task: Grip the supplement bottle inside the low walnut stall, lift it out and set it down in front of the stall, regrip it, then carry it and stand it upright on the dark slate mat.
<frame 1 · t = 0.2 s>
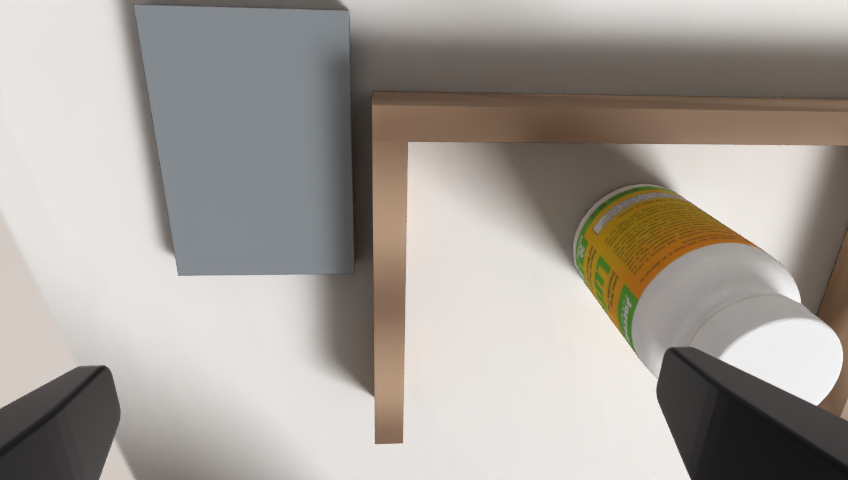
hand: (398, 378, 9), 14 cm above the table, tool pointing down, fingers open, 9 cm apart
slate mat: (261, 147, 22), on the table
supplement bottle: (628, 238, 25), on the table
walnut stall: (629, 248, 25), on the table
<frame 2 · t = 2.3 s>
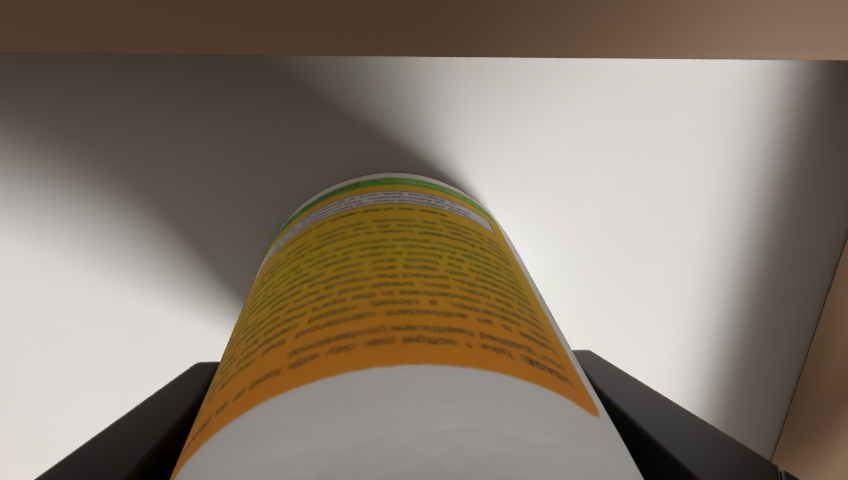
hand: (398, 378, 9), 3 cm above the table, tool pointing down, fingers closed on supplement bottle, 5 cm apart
supplement bottle: (391, 285, 12), on the table, touching gripper
walnut stall: (391, 306, 12), on the table
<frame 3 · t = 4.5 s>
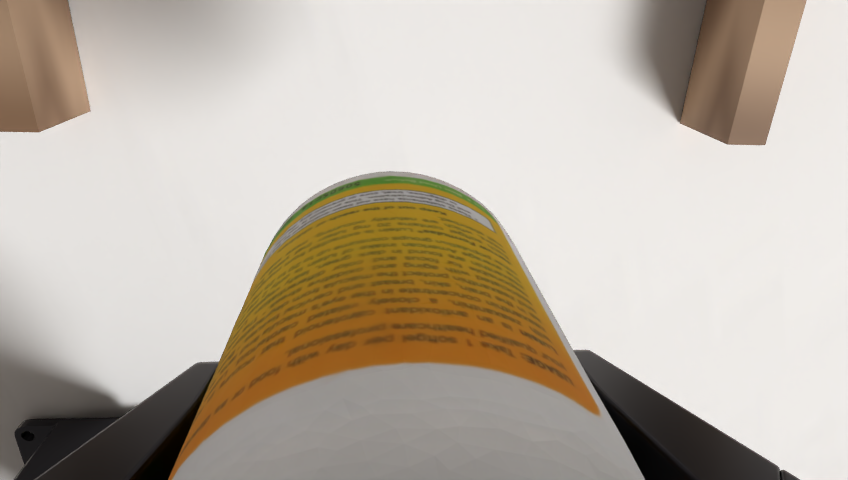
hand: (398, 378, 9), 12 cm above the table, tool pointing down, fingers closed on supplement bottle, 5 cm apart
supplement bottle: (391, 284, 12), point 8 cm above the table, touching gripper
when the fingers open (4 cm above the table, at t = 7.0 s): supplement bottle stays where it is, on the table.
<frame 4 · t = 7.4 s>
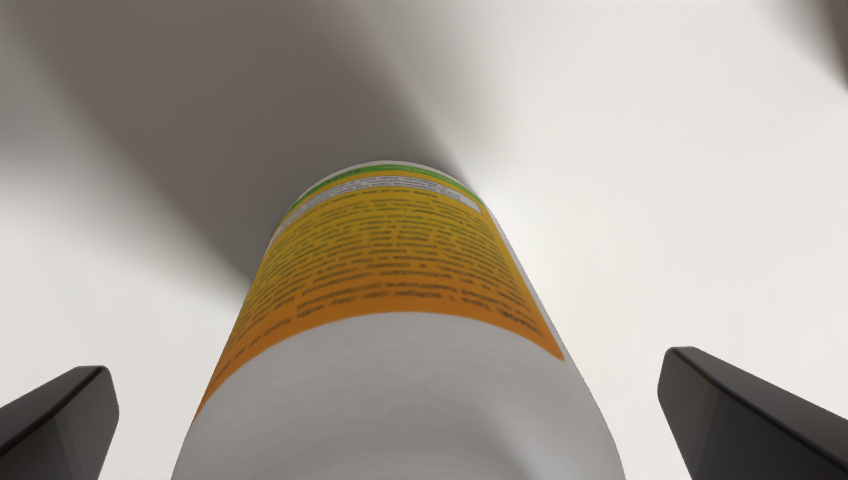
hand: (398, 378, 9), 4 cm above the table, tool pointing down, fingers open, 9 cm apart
supplement bottle: (389, 266, 13), on the table
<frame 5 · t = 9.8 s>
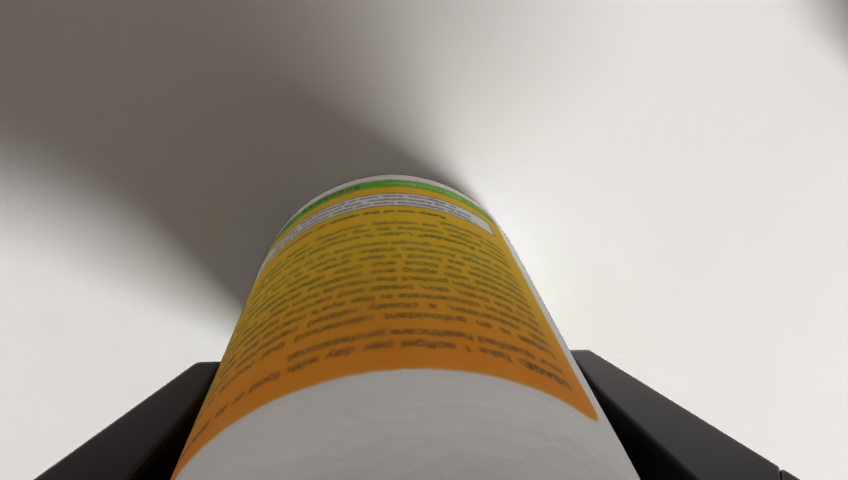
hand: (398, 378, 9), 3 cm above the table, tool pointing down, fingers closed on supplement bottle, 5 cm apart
supplement bottle: (391, 286, 12), on the table, touching gripper
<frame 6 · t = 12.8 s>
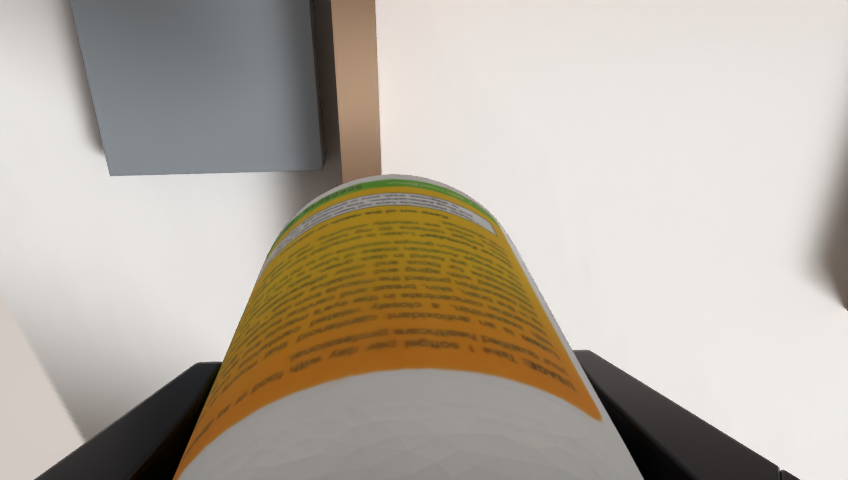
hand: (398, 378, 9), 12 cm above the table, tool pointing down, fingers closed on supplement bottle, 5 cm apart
slate mat: (202, 12, 18), on the table
supplement bottle: (393, 286, 12), point 9 cm above the table, touching gripper
walnut stall: (651, 138, 21), on the table
when the fingers open (5 cm above the table, at t = 15.6 s): supplement bottle stays where it is, resting on slate mat.
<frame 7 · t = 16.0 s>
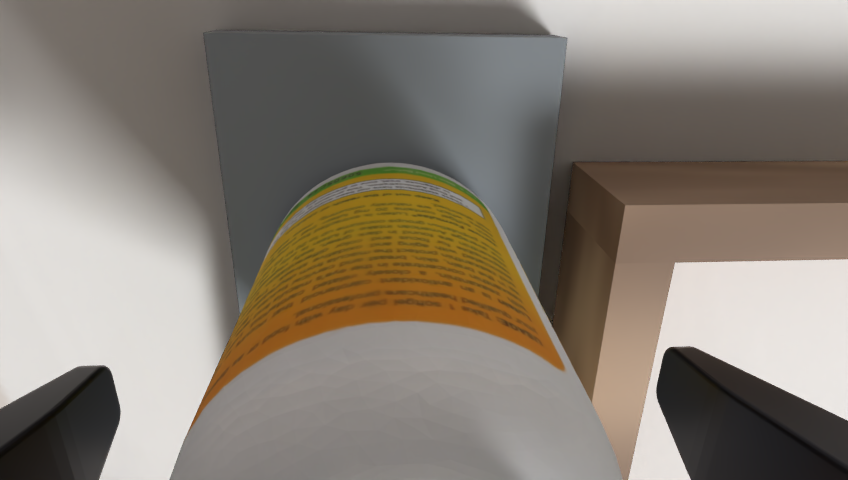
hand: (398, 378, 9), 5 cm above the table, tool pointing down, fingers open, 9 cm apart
slate mat: (390, 250, 14), on the table
supplement bottle: (390, 268, 13), point 1 cm above the table, touching slate mat
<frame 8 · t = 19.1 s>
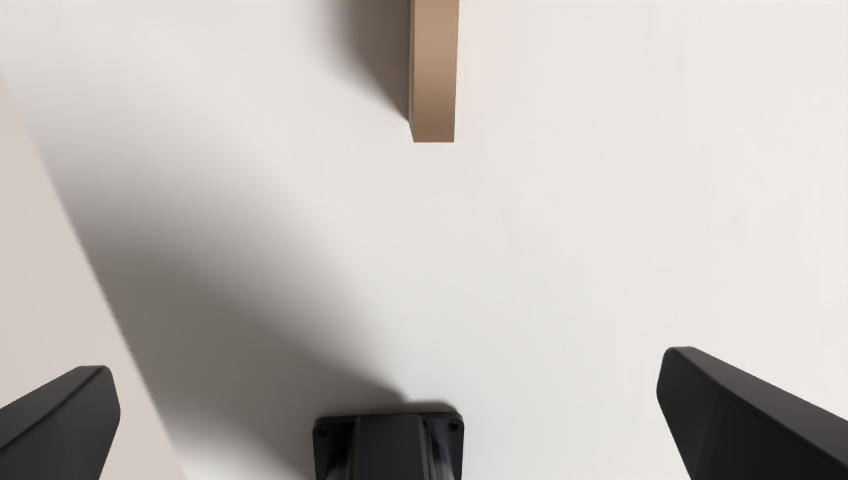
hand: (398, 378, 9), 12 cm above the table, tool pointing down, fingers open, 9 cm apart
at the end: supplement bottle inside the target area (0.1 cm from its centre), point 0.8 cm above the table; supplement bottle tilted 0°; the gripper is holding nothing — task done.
